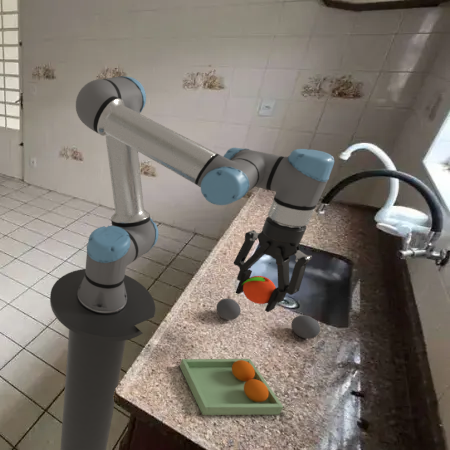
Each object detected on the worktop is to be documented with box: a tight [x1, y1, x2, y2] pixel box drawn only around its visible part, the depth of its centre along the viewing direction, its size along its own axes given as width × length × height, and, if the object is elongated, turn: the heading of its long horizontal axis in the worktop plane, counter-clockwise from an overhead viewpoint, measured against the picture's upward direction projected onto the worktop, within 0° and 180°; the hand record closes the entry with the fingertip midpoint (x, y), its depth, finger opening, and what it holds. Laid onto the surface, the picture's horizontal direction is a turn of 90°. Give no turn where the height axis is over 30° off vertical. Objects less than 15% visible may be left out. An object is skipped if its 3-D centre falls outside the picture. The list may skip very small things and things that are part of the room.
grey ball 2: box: [290, 315, 321, 340], centre depth 93 cm, size 6×6×6 cm
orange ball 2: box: [244, 379, 269, 402], centre depth 77 cm, size 5×5×5 cm
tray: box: [179, 358, 284, 416], centre depth 80 cm, size 17×13×3 cm
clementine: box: [242, 275, 277, 305], centre depth 87 cm, size 8×7×7 cm
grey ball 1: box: [215, 298, 242, 321], centre depth 100 cm, size 6×6×6 cm
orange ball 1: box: [232, 360, 255, 381], centre depth 82 cm, size 5×5×5 cm
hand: (254, 300), depth 88 cm, fingers closed on clementine, 7 cm apart
